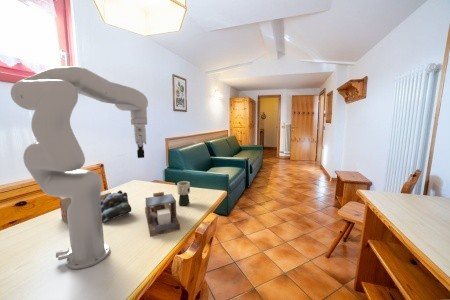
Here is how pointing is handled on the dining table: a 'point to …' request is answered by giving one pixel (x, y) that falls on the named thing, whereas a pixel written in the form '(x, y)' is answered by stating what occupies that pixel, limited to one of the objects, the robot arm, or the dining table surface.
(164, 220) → the block
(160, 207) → the sled
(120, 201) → the lucky cat figurine
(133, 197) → the dining table surface
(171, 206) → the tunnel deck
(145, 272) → the dining table surface
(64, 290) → the dining table surface
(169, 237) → the dining table surface
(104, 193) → the stack of blocks
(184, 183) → the character mug
